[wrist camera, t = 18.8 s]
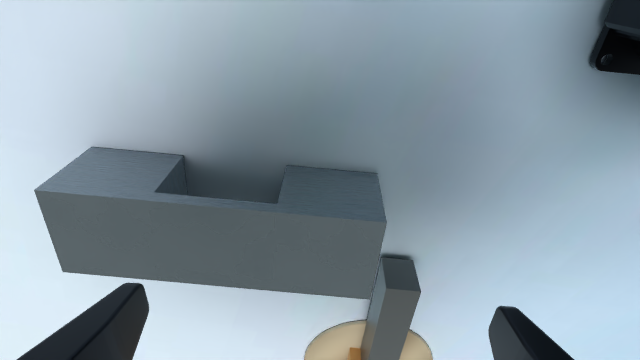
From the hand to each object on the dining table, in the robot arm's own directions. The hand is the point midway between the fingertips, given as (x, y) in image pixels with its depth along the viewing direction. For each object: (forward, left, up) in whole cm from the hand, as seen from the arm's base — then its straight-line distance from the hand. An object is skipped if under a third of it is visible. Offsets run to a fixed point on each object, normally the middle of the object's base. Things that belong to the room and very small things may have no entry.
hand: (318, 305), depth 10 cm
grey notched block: (+5, +5, -12) cm, 14 cm away
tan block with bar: (-5, +15, -11) cm, 19 cm away
